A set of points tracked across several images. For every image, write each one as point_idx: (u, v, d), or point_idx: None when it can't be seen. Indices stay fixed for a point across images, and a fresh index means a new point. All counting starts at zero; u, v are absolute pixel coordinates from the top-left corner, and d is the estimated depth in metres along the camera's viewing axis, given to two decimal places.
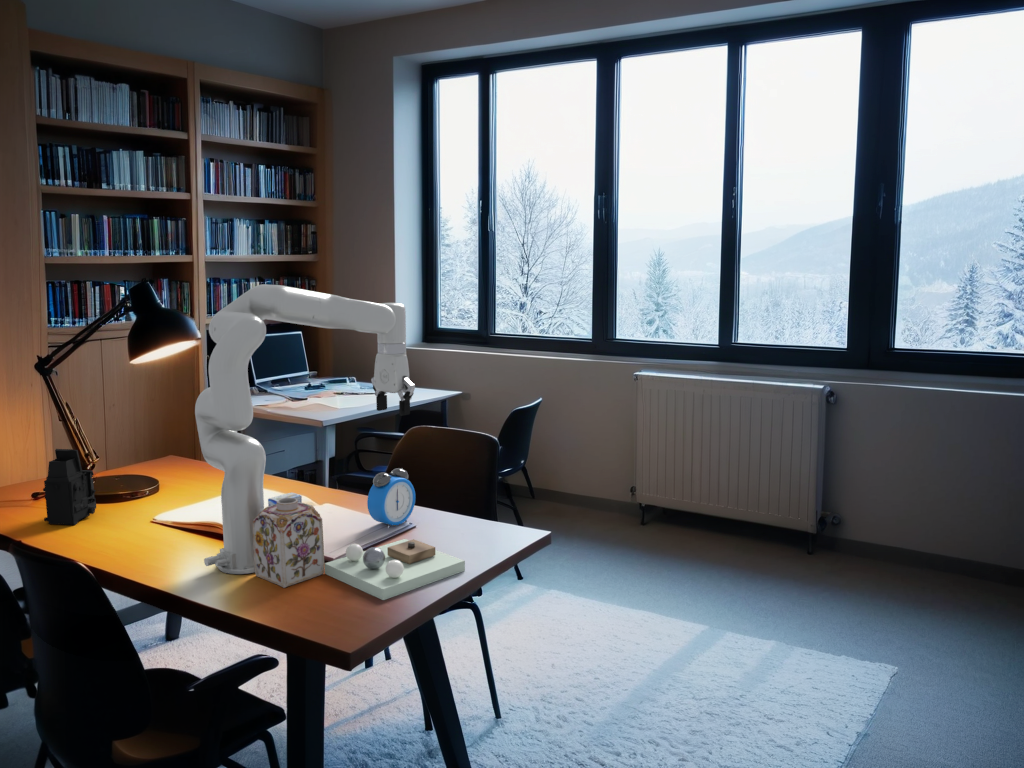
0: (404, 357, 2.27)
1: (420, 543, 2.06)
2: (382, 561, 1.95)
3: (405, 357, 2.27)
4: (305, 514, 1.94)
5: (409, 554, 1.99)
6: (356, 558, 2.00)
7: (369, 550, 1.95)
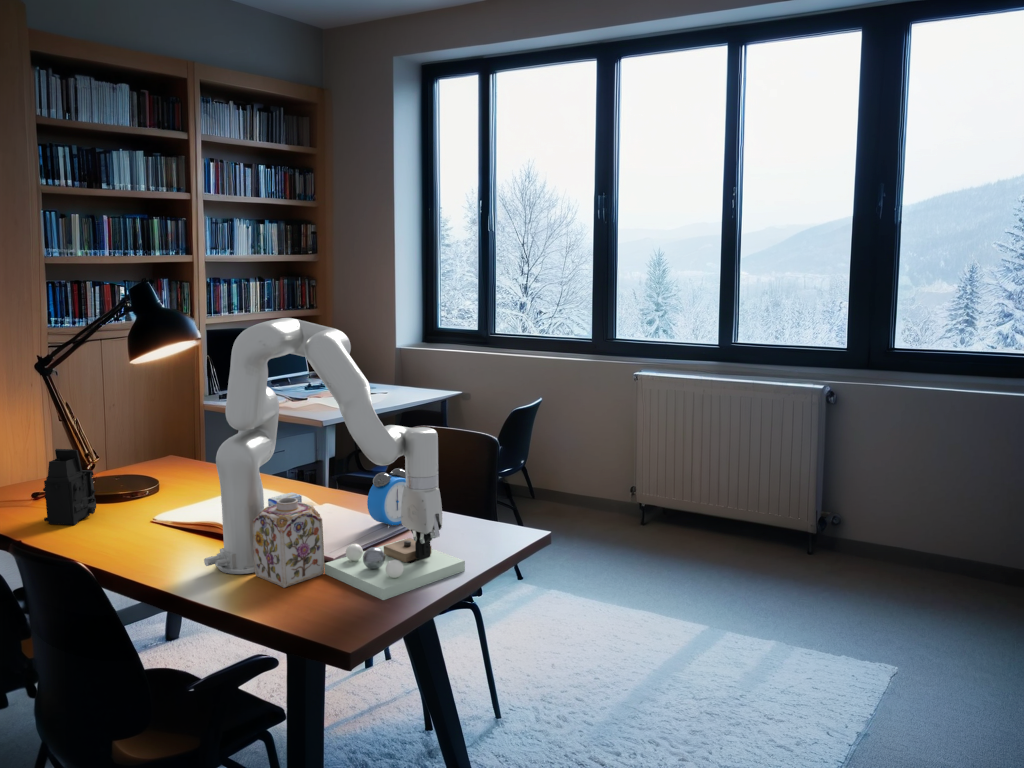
0: (436, 492, 1.96)
1: None
2: (382, 561, 1.95)
3: (437, 492, 1.96)
4: (305, 514, 1.94)
5: (405, 552, 2.00)
6: (356, 558, 2.00)
7: (369, 550, 1.95)
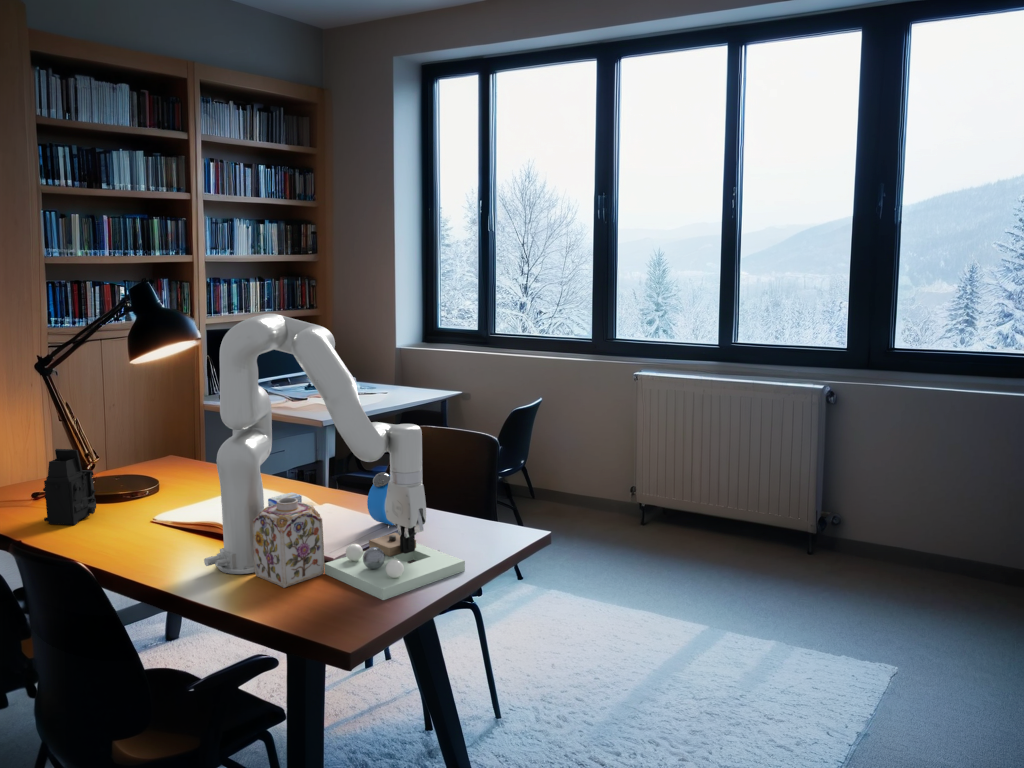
0: (420, 487, 2.00)
1: None
2: (382, 561, 1.95)
3: (421, 487, 2.00)
4: (305, 514, 1.94)
5: (390, 547, 2.04)
6: (356, 558, 2.00)
7: (369, 550, 1.95)
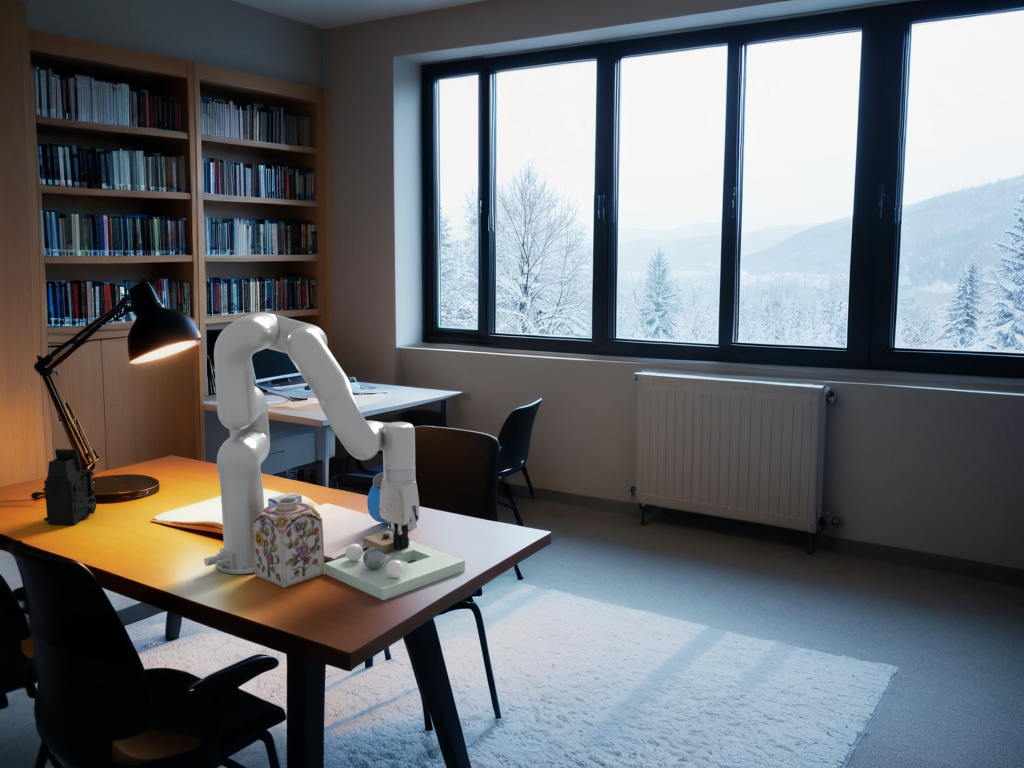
0: (413, 485, 2.02)
1: None
2: (382, 561, 1.95)
3: (414, 484, 2.02)
4: (305, 514, 1.94)
5: (383, 544, 2.06)
6: (356, 558, 2.00)
7: (369, 550, 1.95)
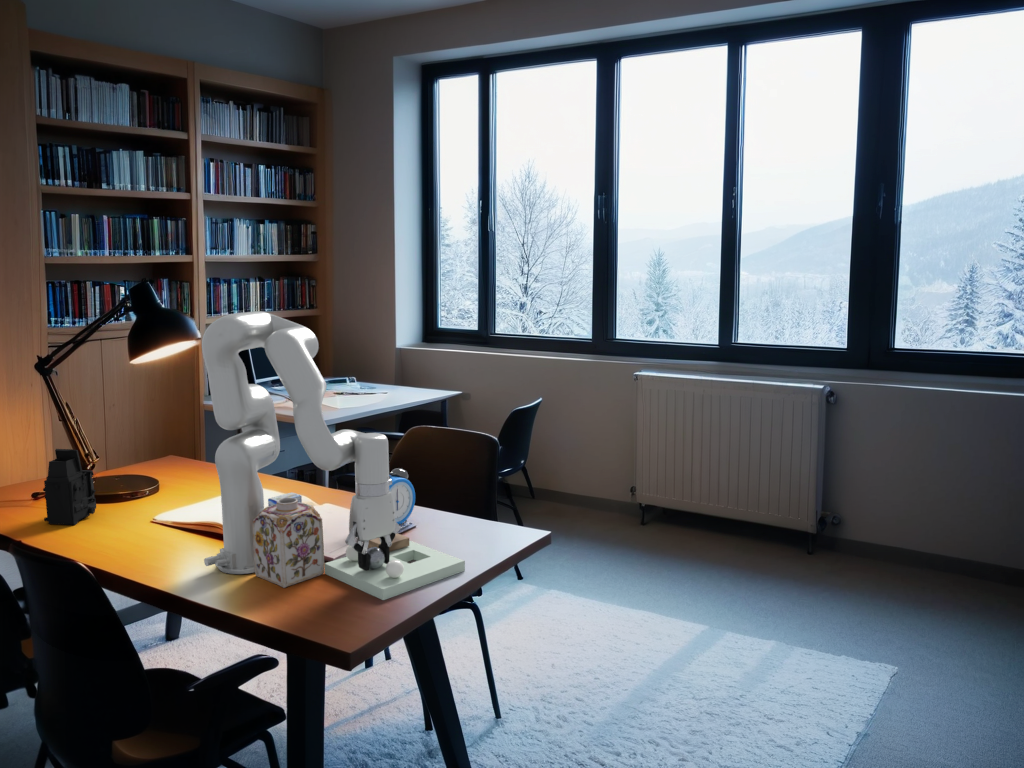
0: (358, 500, 1.90)
1: None
2: (382, 561, 1.95)
3: (359, 501, 1.90)
4: (305, 514, 1.94)
5: None
6: (356, 558, 2.00)
7: (369, 550, 1.95)
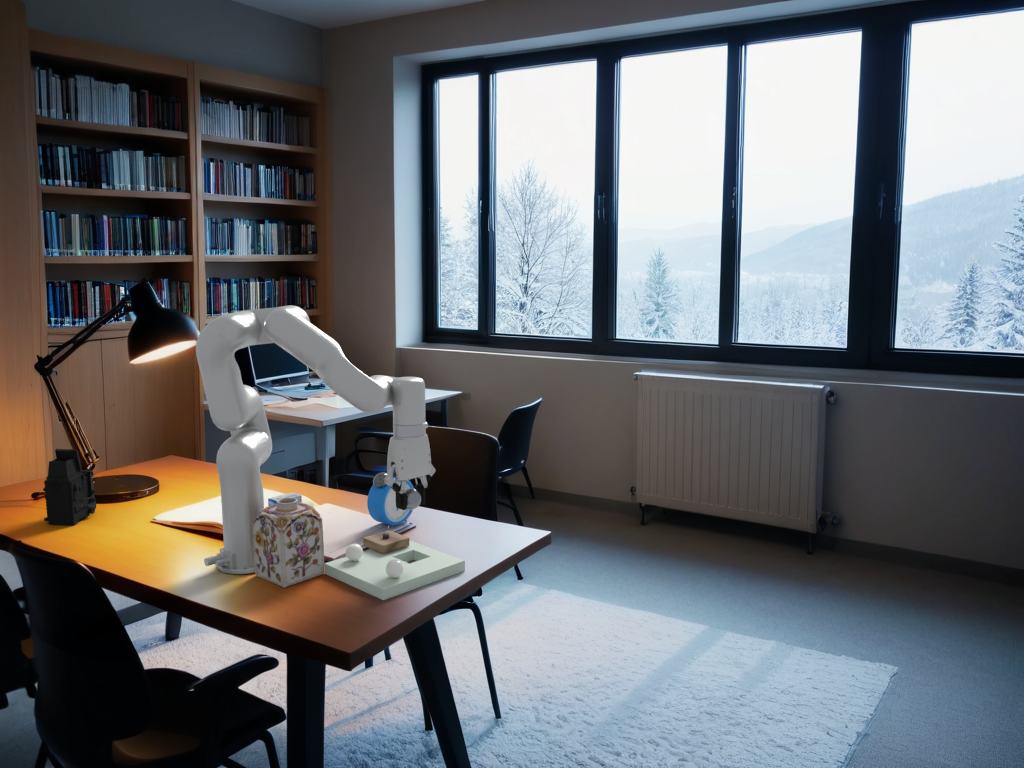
0: (396, 441, 1.96)
1: (394, 534, 2.13)
2: (419, 501, 2.01)
3: (397, 441, 1.96)
4: (305, 514, 1.94)
5: (383, 544, 2.06)
6: (356, 558, 2.00)
7: (406, 490, 2.01)
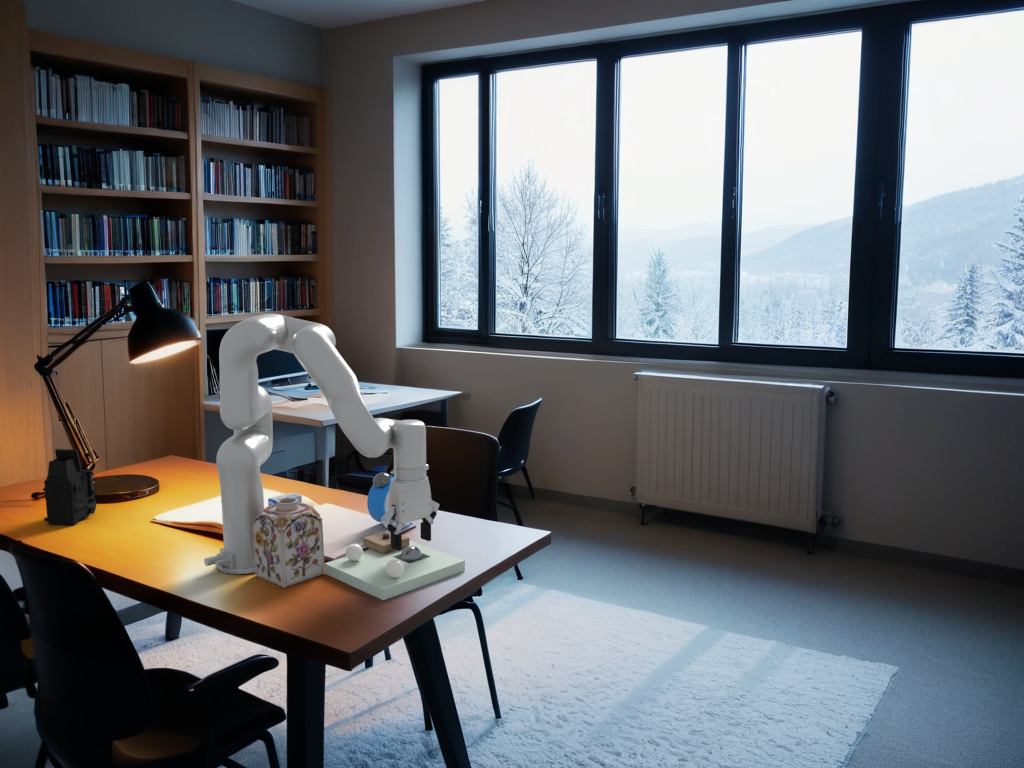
0: (397, 484, 1.98)
1: None
2: (419, 559, 2.03)
3: (398, 484, 1.97)
4: (305, 514, 1.94)
5: (383, 544, 2.06)
6: (356, 558, 2.00)
7: (407, 549, 2.03)
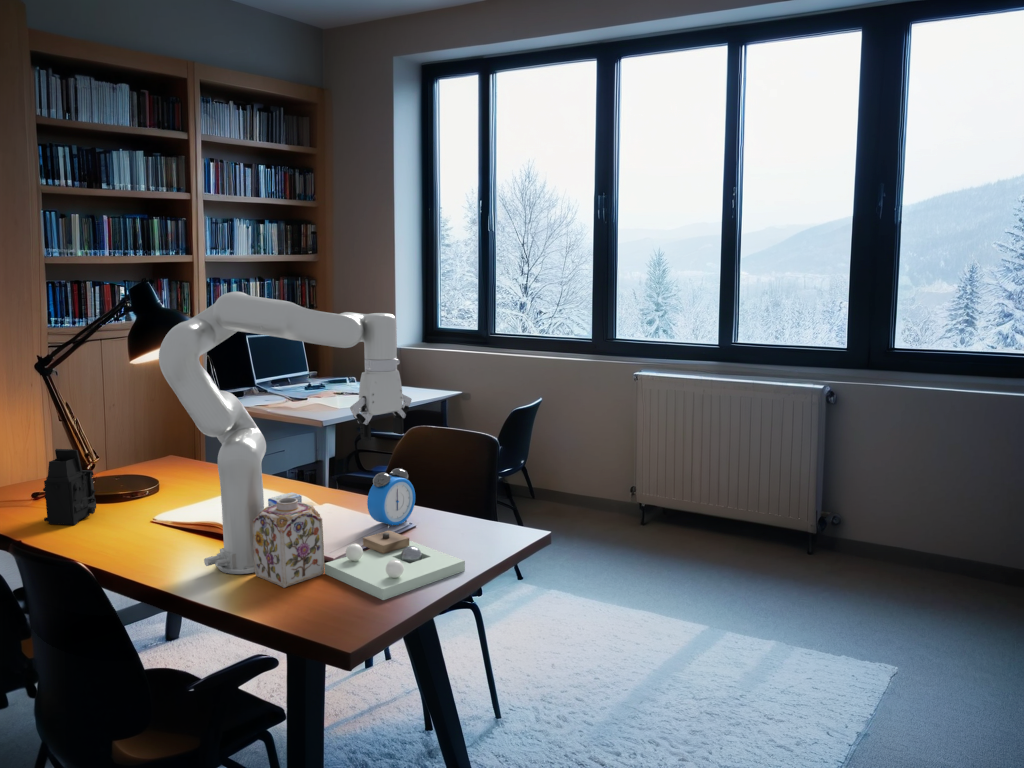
0: (367, 375, 1.99)
1: (394, 534, 2.13)
2: None
3: (368, 375, 1.99)
4: (305, 514, 1.94)
5: (383, 544, 2.06)
6: (356, 558, 2.00)
7: (407, 549, 2.03)
